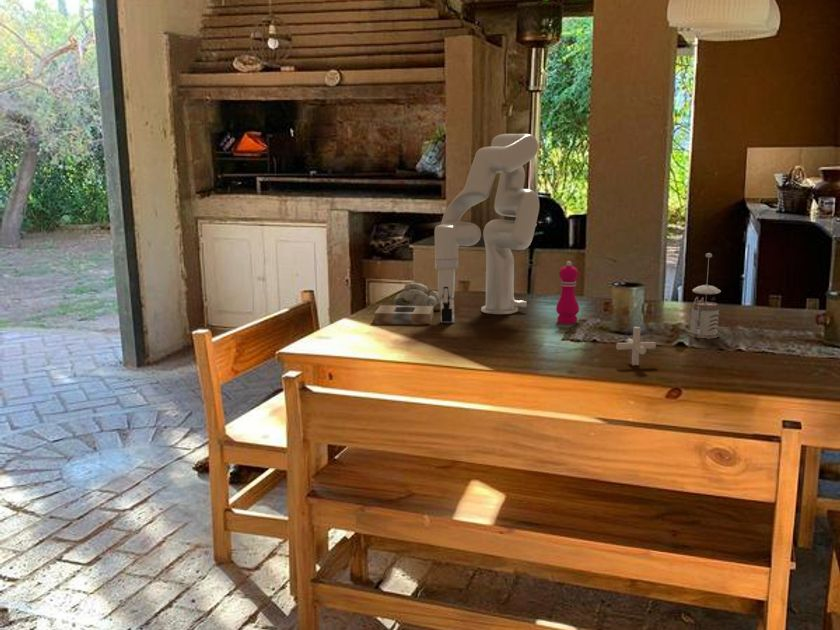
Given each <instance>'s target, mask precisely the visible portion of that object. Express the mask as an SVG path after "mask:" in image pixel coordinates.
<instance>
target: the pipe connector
mask: <svg viewBox="0 0 840 630" xmlns="http://www.w3.org/2000/svg"><path fill="white" fill-rule="evenodd" d="M632 329H633V330H632V331H633V332H632V338H627V339H626V342H616V344H615V345H616V348H615V349H616V350H620V351H621V350H631V366H635V365H637V366H639V364H640V355H645V354H646V353H647V350H652V349H653V350H654V349H656V346H657V345H656V344H657V343H656V342H655V341H641V329H642V328H641V327H640V326H633V328H632Z"/></svg>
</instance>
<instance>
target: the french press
mask: <svg viewBox="0 0 840 630" xmlns="http://www.w3.org/2000/svg"><path fill="white" fill-rule="evenodd" d="M712 257H713V254H712V253H711V252H708V253H707V252H706V254H705V258H707V259H708V260H707V269H709V267H710V265H709V264H710V263H709V262H710V258H712ZM706 273H707V276H706V284H702V285H698V286H696V287H694V288H693V289H692V293H695V294H700V295H705V299H707V295H717V294H721V292H722V291H721V289H719V288H718V287H716V286H714V285H709V284H708V279H709V271H707V272H706ZM692 304H693V306H692V307H691V316H690V317H691V318H690V330H689V332H690V331H691V332H692V333H694V334H698V335H716V334H717V333H718V328H719V326H718V325H719V317H720V316H719V315H720V309H719V308H718V306H719V304H718V303H717V302H713V301H707V300H705V301H704V297H701V299H700V300H699V296H696V297H695V298H694V301H693V302H692ZM699 314H700V315H699Z"/></svg>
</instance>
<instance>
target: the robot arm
mask: <svg viewBox="0 0 840 630" xmlns="http://www.w3.org/2000/svg"><path fill="white" fill-rule="evenodd" d="M538 150H539V143H538V139H537V138H536V137H535V136H534V135H533V134H531V133H530V134H529V133H502V134H498V135H496V136H495V137H492V140H491V144H490V146H483V147H481V148H479V149H478V150H477V151H476V152H475V155H474V158H473V161H472V164H471V166H470V169H469V173H468V176H467V179H466V182H465V185H464V187H463V189H462V190H461V191H460V192H459V193H458V194H457V195H456V196H455V197H454V198H453V200H451V202H450V203H449V204H448V205H447V206H446V208H445V211H444V213H443V216H442V218H441V222H440V224H438V225H436V226H435V228H434V269H435V270H437V271H438V272H437V292H438V300H440V299H441V298H442V321H452V309H451V300H454V296H455V290H456V287H455V286H456V270H457V269H459V263H460V262H459V247H461V246H462V247H464V246H465V247H472V246H475V245H476V244H478V242H479V241H480V240H481V237H482V236H483V241H484V246H485V247H484V248H485V305H483V306H481V307H480V308H481V309H480V311H481V312H482V313H485V314H490V315H512V314H516V313H517V312H518V311H519V308H518V307H521V308H526V307H527V306H528V305H527V301H526V300H525V301H524V300H518V299H515V296H514V295H515V294H514V292H515V291H514V288H515V286H514V284H515V282H514V281H515V258H514V254H513V251H512V250H517V251H518V250H519V251H523V250H526V249H528V248H529V246H531V243H532V241H533V238H534V234H535V231H536V226H537V221H538V216H539V213H540V198H539V195H538V194H537V193H536V191H534V190H533V189H529V188H524V187H525V180H526V179H525V178H526V173H525V172H526V171H525V168H524V165H526V164H527V163H529V162H531V161H532V160H533V159H534V158H535V156H536V155H537V153H538ZM497 174H500V175H499V179H498V184H497V190H496V194H495V199H494V205H493V206H494V211H495V212H496V213H497V215H499V216H503V217H512V218H515V220H513V219H512V220H511V219H502V218H499V219H498V218H497V219H492V220H490V221H488V222H487V223H486V224H485V226H484V229H483V235H482V231H481V228H480V227H479V226H478V225H477V224H476V223H473V222H467V221H466V222H465V221H460V220H461V218H462V216H463V215H464V214H465V213H466V211H468V210H470V208H471V207H474V206H476V205H478V204H480V203H481V202H484V201H485V200H487V199H488V198H489V197H490V194H491V191H492V188H493V185H494V181H495V179H496V175H497ZM448 301H449V302H448Z"/></svg>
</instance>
